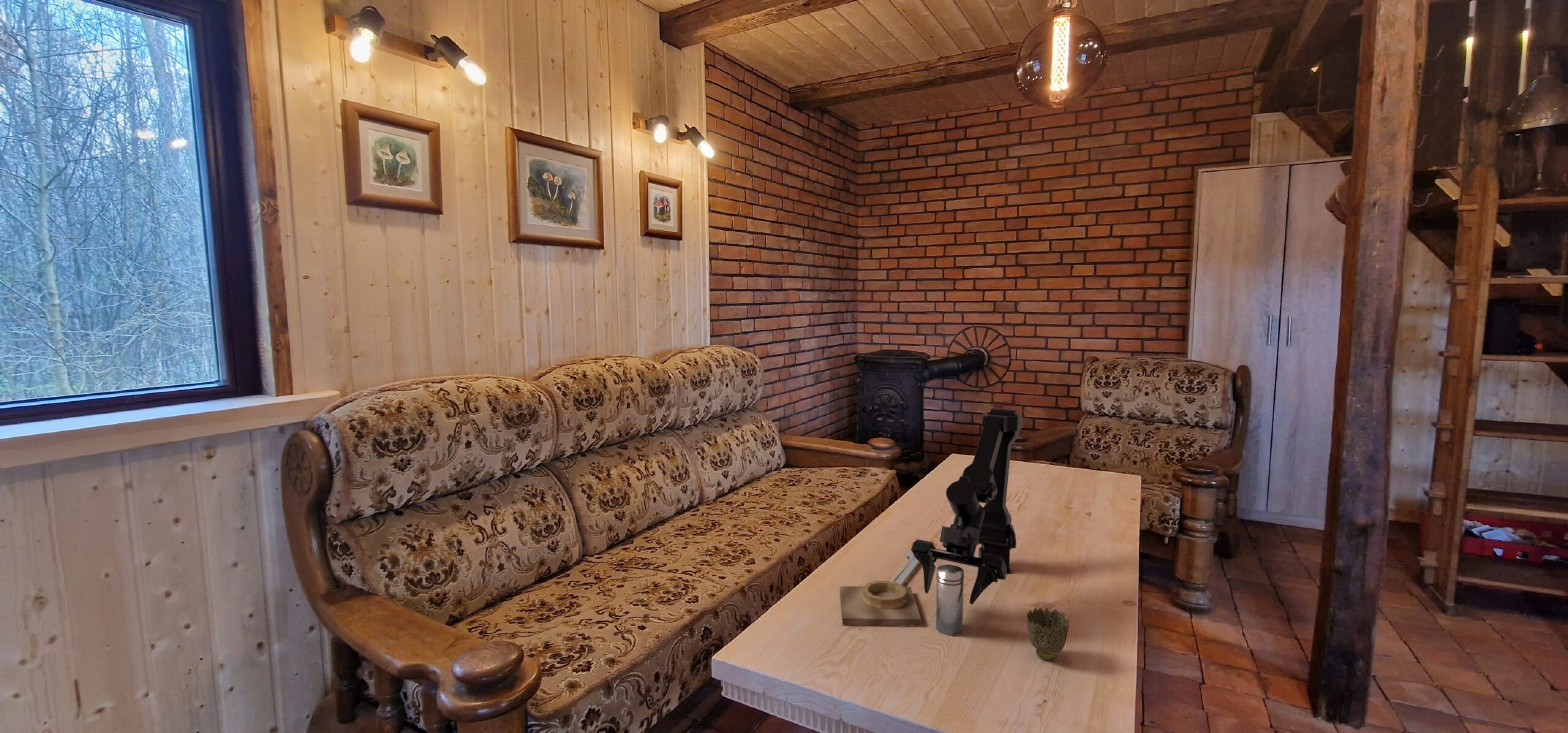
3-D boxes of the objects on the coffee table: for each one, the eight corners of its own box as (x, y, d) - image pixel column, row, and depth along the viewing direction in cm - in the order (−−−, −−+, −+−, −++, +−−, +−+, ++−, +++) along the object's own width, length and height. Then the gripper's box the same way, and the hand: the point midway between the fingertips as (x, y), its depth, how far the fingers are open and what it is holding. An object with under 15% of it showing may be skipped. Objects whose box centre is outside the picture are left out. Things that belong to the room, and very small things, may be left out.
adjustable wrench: (898, 594, 153) (898, 587, 153) (872, 588, 157) (872, 580, 157) (937, 556, 174) (937, 549, 174) (913, 551, 178) (913, 544, 178)
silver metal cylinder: (959, 622, 139) (960, 564, 138) (965, 636, 134) (966, 575, 132) (933, 622, 139) (934, 564, 138) (938, 635, 134) (939, 575, 133)
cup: (1018, 647, 129) (1019, 607, 129) (1055, 645, 130) (1057, 606, 129) (1036, 669, 122) (1037, 627, 121) (1075, 667, 123) (1077, 625, 122)
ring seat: (910, 593, 153) (910, 578, 152) (921, 626, 138) (921, 609, 138) (839, 592, 154) (839, 577, 153) (842, 625, 139) (842, 609, 138)
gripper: (914, 502, 143) (893, 570, 135) (1004, 517, 133) (987, 592, 125) (927, 527, 150) (908, 593, 142) (1013, 543, 140) (997, 615, 132)
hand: (947, 598), depth 135 cm, fingers open, 9 cm apart
